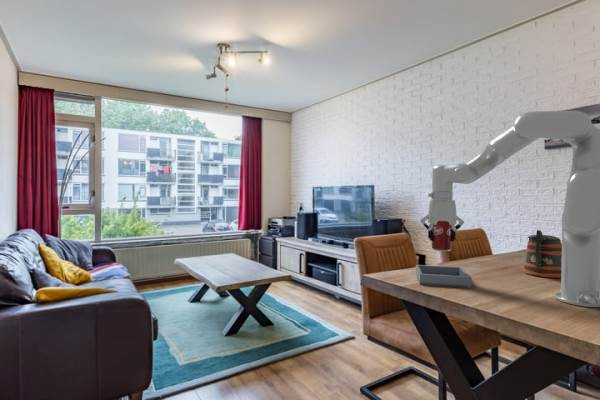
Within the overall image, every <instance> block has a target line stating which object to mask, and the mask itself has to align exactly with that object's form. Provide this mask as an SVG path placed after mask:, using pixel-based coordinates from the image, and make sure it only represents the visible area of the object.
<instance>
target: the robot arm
mask: <svg viewBox="0 0 600 400" xmlns="http://www.w3.org/2000/svg"><path fill="white" fill-rule="evenodd" d="M541 138H543V139H560V141H563V142H565V143H567V144H569V145H570V146H571V148H572V157H571V158H572V159H571V160H572V161H571V168H570V172H569V173H570V174H569V178H568V180H567V182H566V193H565V199H564V206H563V212H562V215H561V244H562V257H561V278H560V292H557V293H555V294H554V299H557V300H558V301H560V302H563V303H566V304H570V305H573V306H574V305H575V306H578V307H579V306H580V307H584V308H585V307H586V308H600V128H599V127H597V126H595V124H592V119H591V118H590V116H589V115H588V114H587V113H586V112H583V111H579V110H549V111H548V110H546V111H545V110H544V111H542V110H541V111H537V110H536V111H534V110H533V111H528V112H527V111H526V112H524V113H522V114H520V115H519V116H518V117H517V118H516V119H515V121H514V123H513V125H512V126H510V127H509V128H507V129H506V130H505V131H503V132H502V133H500V134H499V135H497V136H495V137H494V138H492V140H490V141H489V142H487V143H488V144H486V147H485V148H484V150H483V151H482V152H481V153H480V154H478V156H476V157H474V159H472V160H470V161H469V162H468V163H457V164H451V165H446V164H445V165H443V164H442V165H435V166H433V168H432V170H431V171H432V173H431V174H432V177H431V178H432V179H431V180H432V183H431V188H432V189H431V191H432V192H430V193H428V194H427V195H428V197H429V198H431V199H430V200H429V205H428V214H427V215H425V216H424V217H423V218H420V223H421V225H423V227H424V228H425V229H427V239H429V241H430V242H432V240H433V231H432V228H433V225H436V224H437V222H438V221H448V222H449V225H451V227H452V239H451V243H452V242H455V240H456V239H457V238H456V232H457V231H458V230H459V229H460V228H461V227H462V226H463V224H464V223H465V220H463V219H462V218H460V217H459V216H458V215H457V205H456V200H454V199H453V197H454V196H453V195H454V194H453V191H454V190H453V187H454V186H453V185H454V183H455V184H464V185H469V184H472V183H474V182H476V181H478V180H479V179H480V178H482V177H484V176H485V175H487V174H488V173H489V172H491V171H492V170H494V169H495V168H496V167H498V166H500V165H501V164H503V163H504V161H507V159H509V158H511V157H513V155H515V154H516V153H518V152H520V151H521V150H523V149H525V148H526V147H528V146H529V145H530V144H532V143H534V142H535V141H537V140H538V139H541ZM426 221H428V224H429V225H428V224H427V223H426ZM457 222H458V223H457Z"/></svg>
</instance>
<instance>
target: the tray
mask: <svg viewBox="0 0 600 400" xmlns="http://www.w3.org/2000/svg"><path fill="white" fill-rule="evenodd" d="M415 276H416V279H417V282H418V284H419V285H421V286H431V287H432V286H435V287H447V288H448V287H450V288H463V289H465V288H466V289H472V281H473V278H472V276H471V275H470V274H469V273H467V271H466V270H464V269H463V267H460V266H444V265H429V264H426V265H425V264H424V265H423V264H415Z"/></svg>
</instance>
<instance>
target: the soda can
mask: <svg viewBox="0 0 600 400" xmlns="http://www.w3.org/2000/svg"><path fill="white" fill-rule="evenodd" d="M432 231H433V240H432V241H431V249H432V250H433V251H437V252H450V251H451V250H452V241H451V239H452V227H451V225H449V222H448V221H438V222H437V224H436V225H433V228H432Z"/></svg>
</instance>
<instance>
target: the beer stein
mask: <svg viewBox="0 0 600 400" xmlns="http://www.w3.org/2000/svg"><path fill="white" fill-rule="evenodd" d="M527 238H528V241H527V242H526V243H527V244H526V250H525V251H526V256H525V261H524V263H523V264H524V266H523V267H524V268H523V272H524V274H527V275H531V276H534V277H540V278H542V277H543V278H548V279H551V278H552V279H561V257H562V239H561V238H559V237H557V236H554V235H548V234H543V232H542V231H541V230H539V229H537V230H536V233H535V234H532V235H531V234H530V235H529V236H527Z"/></svg>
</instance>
